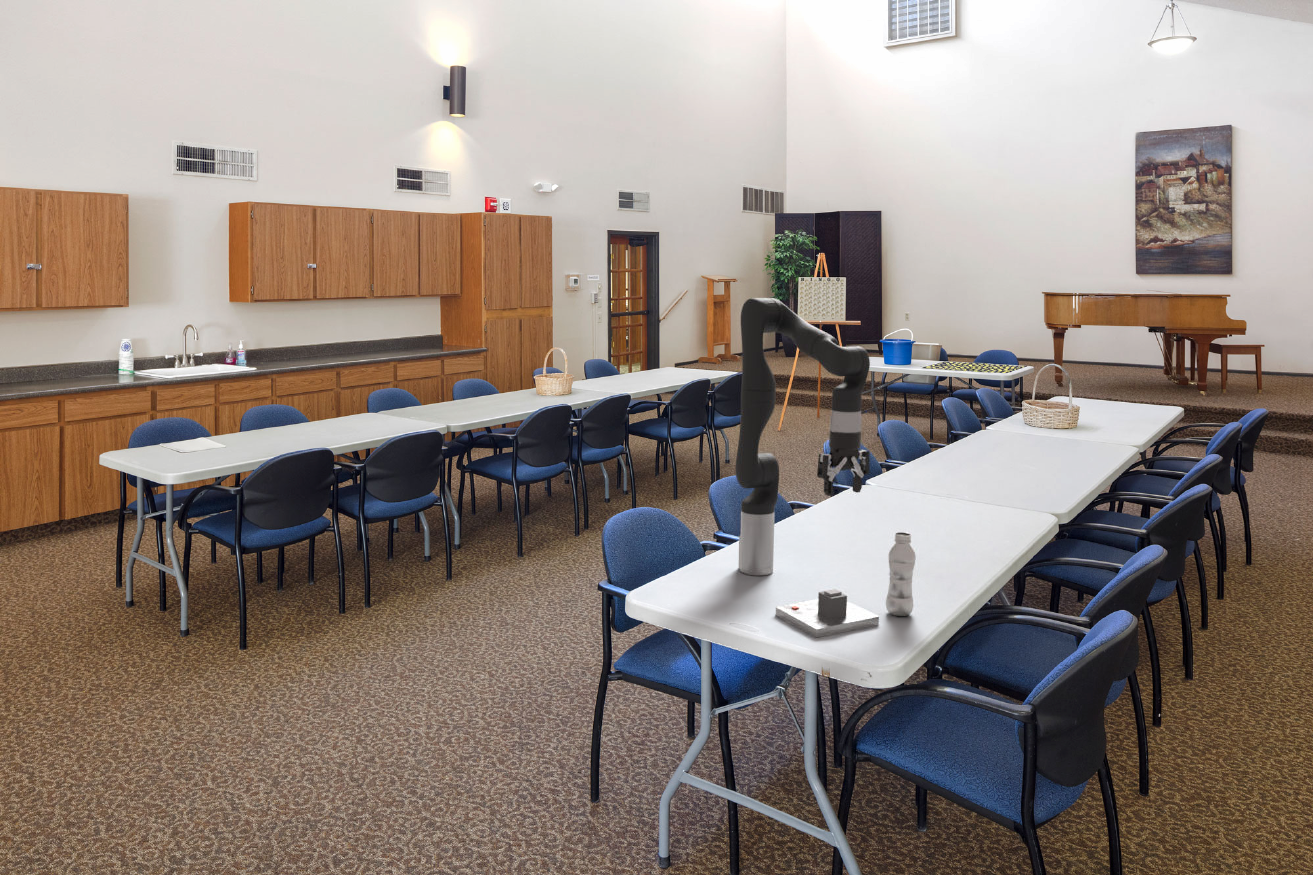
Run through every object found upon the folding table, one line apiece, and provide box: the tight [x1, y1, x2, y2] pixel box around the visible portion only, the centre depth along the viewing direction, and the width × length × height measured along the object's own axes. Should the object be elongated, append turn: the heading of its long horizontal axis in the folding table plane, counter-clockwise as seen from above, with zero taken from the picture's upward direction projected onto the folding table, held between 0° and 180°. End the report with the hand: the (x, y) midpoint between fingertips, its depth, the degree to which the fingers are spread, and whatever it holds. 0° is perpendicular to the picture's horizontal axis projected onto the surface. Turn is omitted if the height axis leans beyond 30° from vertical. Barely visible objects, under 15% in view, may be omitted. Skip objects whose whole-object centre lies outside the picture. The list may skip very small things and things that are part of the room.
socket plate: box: [775, 599, 880, 638], centre depth 211 cm, size 16×18×3 cm
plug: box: [818, 588, 848, 619], centre depth 208 cm, size 5×4×8 cm
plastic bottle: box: [885, 531, 917, 617], centre depth 213 cm, size 6×7×20 cm
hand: (842, 493), depth 219 cm, fingers open, 8 cm apart
